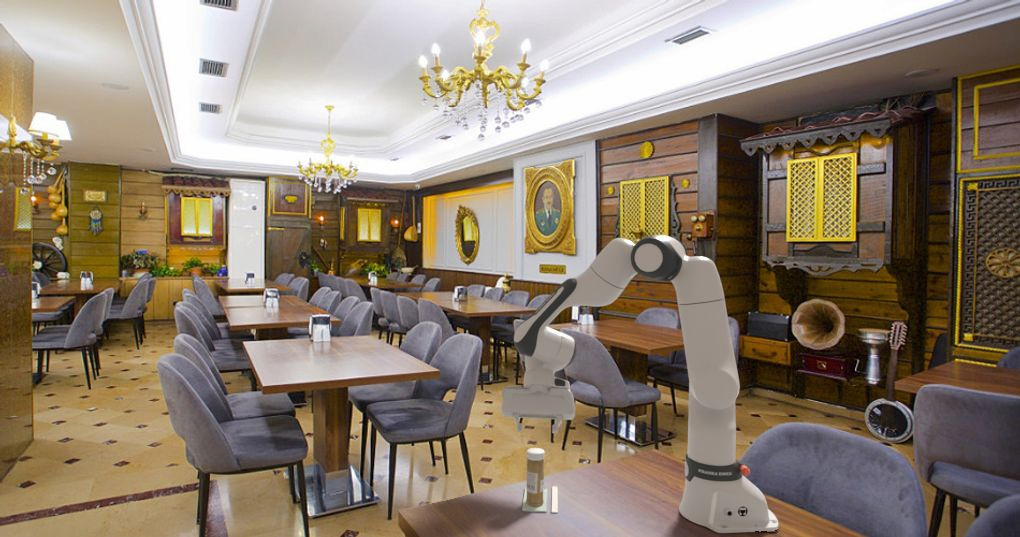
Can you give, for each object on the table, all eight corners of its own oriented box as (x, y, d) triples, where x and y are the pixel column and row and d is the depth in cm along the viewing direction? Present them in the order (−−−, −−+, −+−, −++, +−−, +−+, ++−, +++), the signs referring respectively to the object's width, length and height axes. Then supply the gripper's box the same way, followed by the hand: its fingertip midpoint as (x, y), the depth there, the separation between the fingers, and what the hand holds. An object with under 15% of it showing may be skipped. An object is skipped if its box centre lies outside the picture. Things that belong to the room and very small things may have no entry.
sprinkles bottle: (547, 504, 139) (548, 451, 139) (532, 508, 137) (533, 454, 136) (536, 497, 143) (537, 445, 143) (522, 501, 141) (523, 449, 140)
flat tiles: (557, 487, 150) (557, 486, 150) (557, 513, 135) (557, 511, 135) (525, 485, 151) (525, 484, 151) (522, 511, 136) (522, 509, 136)
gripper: (501, 379, 156) (497, 424, 146) (575, 381, 154) (575, 427, 144) (503, 391, 160) (499, 435, 151) (574, 393, 158) (574, 438, 149)
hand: (537, 431), depth 147 cm, fingers open, 8 cm apart
